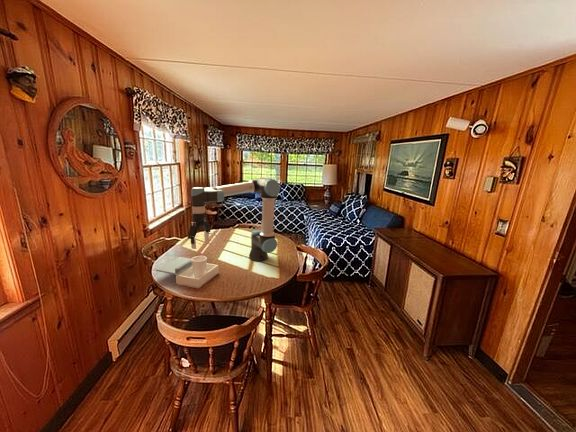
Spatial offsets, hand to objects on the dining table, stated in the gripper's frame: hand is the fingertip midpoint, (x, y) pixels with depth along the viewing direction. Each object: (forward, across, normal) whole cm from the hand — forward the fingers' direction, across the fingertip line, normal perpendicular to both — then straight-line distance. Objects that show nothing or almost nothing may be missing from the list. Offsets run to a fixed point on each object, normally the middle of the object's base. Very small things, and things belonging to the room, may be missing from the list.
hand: (200, 245), depth 152 cm
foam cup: (+22, +2, -1) cm, 22 cm away
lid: (+16, +1, -17) cm, 23 cm away
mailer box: (+23, +2, -2) cm, 23 cm away
